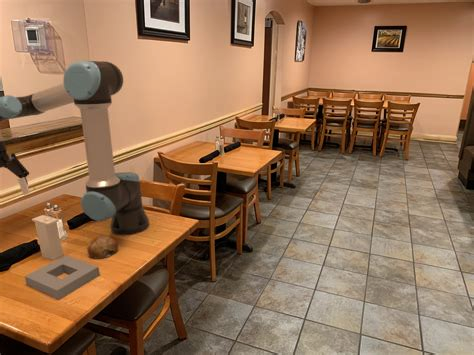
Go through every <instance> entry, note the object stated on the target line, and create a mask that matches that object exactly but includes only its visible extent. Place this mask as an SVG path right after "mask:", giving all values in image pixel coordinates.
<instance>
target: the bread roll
mask: <svg viewBox="0 0 474 355" xmlns="http://www.w3.org/2000/svg"><path fill="white" fill-rule="evenodd" d="M86 250H87V254H88V256H89V257H90V258H92V259H99V260H101V259H106V258H110V257H111V256H113V255H114V254H115V253H117V252H118V250H119V244H118V242H117V240H116V239H115V238H113V237H111V236H109V235H108V236H107V235H100V236H96V237H94V238H92V240H91V241H90V242H89V243H88V245H87V248H86Z"/></svg>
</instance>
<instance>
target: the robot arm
mask: <svg viewBox="0 0 474 355" xmlns="http://www.w3.org/2000/svg"><path fill="white" fill-rule="evenodd" d="M62 80H63V83H61V84H58V85H56V86H55V85H54V86H53V87H49V88H45V89H43V90H39V91H37V92H34V93H31V94H29V95H24V96H13V95H10V94H6V95H3V96H0V123H2V122H5V121H7V120H14V119H19V118H24V117H31V116H38V115H42V114H44V113H45V112H47V111H51V110H54V109H57V108H61V107H64V106H67V105H70V104H73V103H74V106H76V107H77V108H78V109H79V111H80V118H81V119H80V120H81V126H82V132H83V140H84V147H85V149H84V150H85V156H86V162H87V169H88V179H87V181H86V182H85V191H86V193H84V194H83V195H82V197H81V199H80V207H81V208H82V210H83V213H84V214H85V215H86V216H88V217H89V218H90V219H92V220H94V221H98V222H105V221H107V220H109V219H111V220H110V231H111V232H112V234H114V235H119V236H129V235H135V234H138V233H142V232H143V231H145V230H147V229H148V228H149V227H150V221H149V220H150V219H149V218H148V216H147V214H146V211H145V210H144V207H143V206H144V205H143V199H142V198H143V197H142V191H141V189H142V188H141V180H140V175H138V174H139V173H136V172H130V171H128V172H127V171H124V172H115V171H116V170H115V163H114V152H113V144H112V136H111V127H110V125H111V124H110V119H109V118H110V117H109V116H110V115H109V107H110V106H111V105H112V102H113V101H112V96H114V95H117V93H119V92H120V91H121V90H122V88H123V85H124V75H123V73H122V71H121V69H120V68H119V67H118V66H117V65H115V64H114V63H112V62H109V61H103V60H101V61H98V60H96V61H95V60H80V61H76V62H73V63H71V64H70V65H69V66H68V67H67V68H66V69H65V72H64V74H63V79H62ZM3 140H4V137H3V135H2V132H1V131H0V169H1V168H2V169H3V168H4V169H7V170H9V171H10V172H11V173H12V174H13V175H15V176H16V177H17V178H18V179H17V180H18V183H19V187H20V189H21V192H22V195H23V196H25V195H28V194H30V193H31V191H30V189H29V186H28V185H29V182H28V180H27V177H28V176H29V175H30V172H29V171H28V170H27V169H26V167H25V166H24V164H22V162H21V161H20V160H19V159H18V157H17V155H16V154H15V153H10V154H8V153H7V147H6V143H5V142H4V141H3Z"/></svg>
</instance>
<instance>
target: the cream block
mask: <svg viewBox="0 0 474 355" xmlns="http://www.w3.org/2000/svg"><path fill="white" fill-rule="evenodd" d="M31 221H32V222H34V225H35V229H36V233H37V234H36V235H37V240H38V244H39V247H40V253H41V257H42V258H45V259H48V260H50V261H56V260H58V259H60V258H62V257H64V253H63V248H62V243H61V242H62V241H61V238H60V233H59V228H58V224H57V223H58V222H59V219H58V218H56V217H55V218H54V217H52V216H47V215H44V214H42V215H38V216H36V217H34V218H31Z"/></svg>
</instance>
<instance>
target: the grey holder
mask: <svg viewBox="0 0 474 355" xmlns="http://www.w3.org/2000/svg"><path fill="white" fill-rule="evenodd" d="M63 274H68V275H66V276H64V277H63V278H59V277H58V276H60V275H63ZM99 276H101V275H100V269H99V266H97V265H95V264H92V263H89V262H86V261H83V260H80V259H77V258H74V257H72V256H69V255H66V254H65V255H63V256H61V257H59V258H57V259H55V260H53V261H52V262H50V263H48V264H46V265H45V266H43V267H40V268H38V269H36V270H34V271H32V272H30V273H28V274H26V275H24V279H25V284H26V285H27V287H30V288H32V289H35V290H37V291H39V292H42V293H44V294H45V295H49V296H50V297H52V298H55V299H56V300H61V299H62V298H64V297H66V296H68V295H69V294H70V293H73V292H74V291H76V290H78V289H80V287H83V286H84V285H86V284H88V283H89V282H91V281H92V280H94V279H96V278H98V277H99Z"/></svg>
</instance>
